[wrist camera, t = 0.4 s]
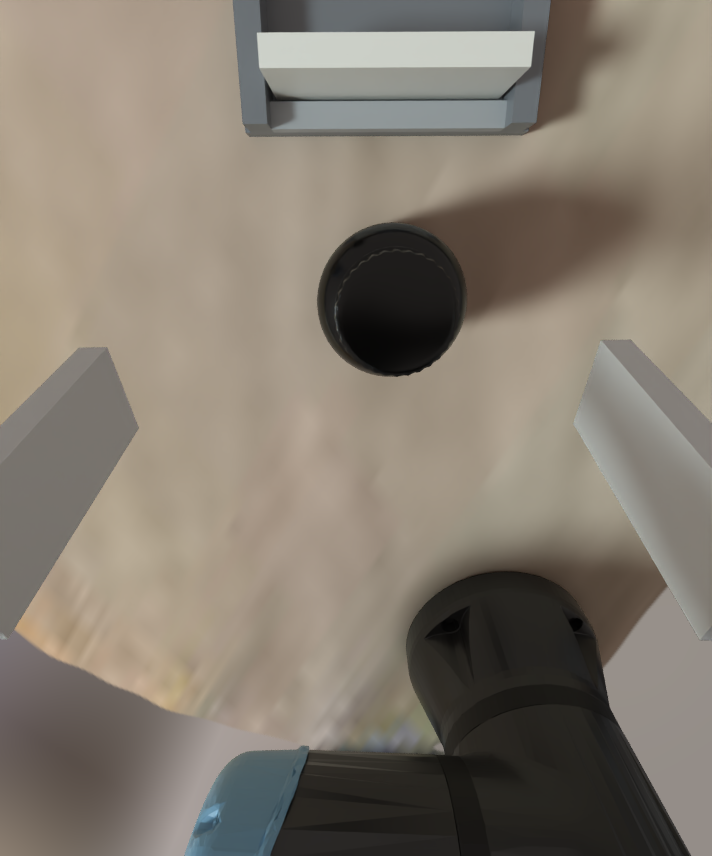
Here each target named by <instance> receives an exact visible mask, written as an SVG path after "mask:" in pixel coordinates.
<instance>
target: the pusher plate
mask: <svg viewBox="0 0 712 856" xmlns="http://www.w3.org/2000/svg"><path fill="white" fill-rule="evenodd" d="M534 34H535V31H467V32H268V33H257V42H258V57H259V69H260V70H261V72H262V74H263V76H264V78H265V79H266V81H267V83H268V85H269V86H270V88H271V90H272V92H273V94H274V95H275V97H276V99H277V100H397V99H499V98H500V97H501V96H502V95H503V94H504V93H505V92H506V91H507V90H508V89H509V88H510V87H511V86H512V85H513V84H514V83H515V82H516V81H517V80H518V79H519V78H520V77H521V76H522V75H523V74H524V73H525V72H526V71H527V70H528V69H529V68H530V67H531V61H532V52H533V43H534Z"/></svg>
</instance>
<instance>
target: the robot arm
mask: <svg viewBox="0 0 712 856" xmlns="http://www.w3.org/2000/svg"><path fill="white" fill-rule="evenodd" d="M573 424H574V426H575V427H576V429H577V431H578V433H579V434H580V436H581V438H582V439H583V441H584V443H585V445H586V446H587V448H588V450H589V451H590V453H591V455H592V457H593V458H594V460H595V462H596V463H597V465H598V467H599V469H600V470H601V472H602V474H603V475H604V477H605V479H606V481H607V482H608V484H609V486H610V487H611V489H612V491H613V493H614V494H615V496H616V498H617V499H618V501H619V503H620V505H621V506H622V508H623V510H624V511H625V513H626V515H627V517H628V518H629V520H630V522H631V523H632V525H633V527H634V529H635V530H636V532H637V534H638V535H639V537H640V539H641V541H642V542H643V544H644V546H645V547H646V549H647V551H648V553H649V554H650V556H651V558H652V559H653V561H654V563H655V565H656V566H657V568H658V570H659V571H660V573H661V575H662V577H663V578H664V580H665V582H666V583H667V585H668V587H669V589H670V590H671V592H672V594H673V595H674V597H675V599H676V601H677V602H678V604H679V606H680V607H681V609H682V611H683V612H684V614H685V616H686V618H687V619H688V621H689V623H690V625H691V626H692V628H693V629H694V631H695V633H696V635H697V637H698V638H699V640H712V423H711V422H710V421H709V420H708V419H707V418H706V417H705V416H704V415H703V414H702V413H701V412H700V411H699V410H698V408H697V407H696V406H695V405H694V404H693V403H692V402H691V401H690V400H689V399H688V398H687V397H686V396H685V395H684V394H683V393H682V392H681V391H680V390H679V389H678V388H677V387H676V386H675V385H674V384H673V383H672V382H671V381H670V380H669V379H668V378H667V377H666V376H665V374H664V373H663V372H662V371H661V370H660V369H659V368H658V367H657V366H656V365H655V364H654V363H653V362H652V361H651V360H650V359H649V358H648V357H647V356H646V355H645V354H644V353H643V352H642V351H641V350H640V349H639V348H638V347H637V346H636V345H635V344H634V343H633V342H632V340H601V342H600V345H599V348H598V351H597V354H596V357H595V360H594V363H593V366H592V369H591V372H590V375H589V378H588V381H587V384H586V387H585V390H584V393H583V396H582V399H581V402H580V405H579V408H578V411H577V414H576V417H575V420H574V423H573ZM138 429H139V427H138V425H137V422H136V420H135V417H134V414H133V412H132V409H131V407H130V404H129V402H128V399H127V397H126V394H125V392H124V389H123V386H122V384H121V381H120V379H119V376H118V374H117V371H116V369H115V366H114V364H113V361H112V358H111V356H110V353H109V351H108V348H107V347H91V348H78V349H77V350H76V351H75V352H74V353H73V354H72V355H71V356H70V357H69V358H68V359H67V360H66V361H65V362H64V363H63V364H62V365H61V366H60V367H59V368H58V369H57V370H56V371H55V372H54V373H53V374H52V375H51V376H50V377H49V378H48V379H47V380H46V381H45V382H44V383H43V384H42V385H41V386H40V387H39V388H38V389H37V390H36V391H35V392H34V393H33V394H32V395H31V396H30V397H29V398H28V399H27V400H26V401H25V402H24V403H23V404H22V405H21V406H20V407H19V408H18V409H17V410H16V411H15V412H14V413H13V414H12V415H11V416H10V417H9V418H8V419H7V420H6V421H5V422H4V423H3V424H2V425H1V426H0V639H8V638H9V636H10V635H11V633H12V632H13V630H14V628H15V627H16V625H17V624H18V622H19V620H20V619H21V617H22V616H23V614H24V612H25V611H26V609H27V608H28V606H29V604H30V603H31V601H32V599H33V598H34V596H35V595H36V593H37V591H38V590H39V588H40V587H41V585H42V583H43V582H44V580H45V579H46V577H47V575H48V574H49V572H50V570H51V569H52V567H53V566H54V564H55V562H56V561H57V559H58V558H59V556H60V554H61V553H62V551H63V549H64V548H65V546H66V545H67V543H68V541H69V540H70V538H71V537H72V535H73V533H74V532H75V530H76V529H77V527H78V525H79V524H80V522H81V520H82V519H83V517H84V516H85V514H86V512H87V511H88V509H89V508H90V506H91V504H92V503H93V501H94V500H95V498H96V496H97V495H98V493H99V491H100V490H101V488H102V487H103V485H104V483H105V482H106V480H107V479H108V477H109V475H110V474H111V472H112V471H113V469H114V467H115V466H116V464H117V462H118V461H119V459H120V458H121V456H122V454H123V453H124V451H125V450H126V448H127V446H128V445H129V443H130V442H131V440H132V438H133V437H134V435H135V433H136V432H137V430H138ZM406 652H407V660H408V668H409V675H410V679H411V682H412V686H413V688H414V691H415V693H416V695H417V697H418V699H419V701H420V703H421V705H422V706H423V708H424V710H425V712H426V714H427V716H428V718H429V720H430V722H431V724H432V726H433V728H434V730H435V732H436V734H437V736H438V738H439V740H440V742H441V743H442V745H443V747H444V752H445V755H434V754H407V753H379V752H351V751H323V750H309V746H301V747H300V748H299V749H297V750H265V751H249V752H245V753H242V754H240V755H238V756H237V757H235V758H234V759H232V760H231V761H230V762H229V763H228V764H227V765H226V766H225V767H224V769H223V770H222V771H221V772H220V774H219V775H218V777H217V778H216V780H215V782H214V784H213V786H212V788H211V790H210V792H209V794H208V796H207V798H206V800H205V802H204V804H203V807H202V809H201V812H200V814H199V817H198V819H197V822H196V824H195V827H194V830H193V832H192V835H191V838H190V841H189V843H188V846H187V849H186V852H185V855H184V856H691V855H690V853H689V851H688V849H687V847H686V846H685V844H684V842H683V840H682V838H681V837H680V835H679V833H678V831H677V829H676V827H675V826H674V824H673V822H672V820H671V818H670V817H669V815H668V813H667V811H666V809H665V807H664V806H663V804H662V802H661V800H660V798H659V797H658V795H657V793H656V791H655V789H654V787H653V786H652V784H651V782H650V780H649V778H648V777H647V775H646V773H645V771H644V769H643V768H642V766H641V764H640V762H639V760H638V759H637V757H636V755H635V753H634V751H633V749H632V748H631V746H630V744H629V742H628V740H627V739H626V737H625V735H624V734H623V732H622V730H621V728H620V726H619V724H618V722H617V721H616V719H615V717H614V715H613V713H612V711H611V709H610V707H609V701H608V696H607V690H606V685H605V679H604V674H603V669H602V663H601V658H600V652H599V647H598V642H597V639H596V636H595V633H594V631H593V628H592V626H591V624H590V623H589V621H588V619H587V618H586V616H585V614H584V613H583V611H582V609H581V608H580V606H579V605H578V603H577V602H576V600H575V599H574V598H573V597H572V596H571V595H570V594H569V593H568V592H567V591H565V590H564V589H563V588H561V587H560V586H558V585H557V584H555V583H553V582H551V581H549V580H546V579H544V578H541V577H538V576H534V575H530V574H525V573H516V572H497V573H488V574H483V575H478V576H474V577H471V578H468V579H465V580H462V581H460V582H457V583H455V584H453V585H451V586H449V587H448V588H446V589H444V590H443V591H441V592H439V593H438V594H437V595H435V596H434V597H433V598H432V599H431V600H429V601H428V602H427V603H426V604H425V605H424V607H423V608H422V609H421V610H420V611H419V613H418V614H417V616H416V617H415V619H414V621H413V622H412V624H411V627H410V629H409V633H408V637H407V643H406Z"/></svg>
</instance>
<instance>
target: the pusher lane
mask: <svg viewBox="0 0 712 856" xmlns="http://www.w3.org/2000/svg"><path fill="white" fill-rule="evenodd" d="M550 4H551V0H233V10H234V22H235V34H236V47H237V59H238V71H239V84H240V96H241V108H242V120H243V125H244V126H245V131H246V134H247V135H248V136H249V137H271V136H482V135H523V134H525V133H527V132H528V130H529V127H530V126H532V125H533V124H535V123H536V121H537V112H538V104H539V96H540V87H541V79H542V70H543V62H544V54H545V45H546V37H547V29H548V20H549V12H550ZM467 31H535V34H534V43H533V52H532V61H531V67H530V68H529V69H528V70H527V71H526V72H525V73H524V74H523V75H522V76H521V77H520V78H519V79H518V80H517V81H516V82H515V83H514V84H513V85H512V86H511V87H510V88H509V89H508V90H507V91H506V92H505V93H504V94H503V95H502V96H501V97H500V98H499V99H397V100H277V99H276V97H275V95H274V94H273V92H272V90H271V88H270V86H269V85H268V83H267V81H266V79H265V78H264V76H263V74H262V72H261V70H260V69H259V57H258V42H257V33H268V32H467Z"/></svg>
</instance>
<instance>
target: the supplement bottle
mask: <svg viewBox="0 0 712 856" xmlns="http://www.w3.org/2000/svg"><path fill="white" fill-rule="evenodd" d="M466 306H467V289H466V282H465V278H464V275H463V271H462V269H461V266H460V264H459V262H458V260H457V259H456V257H455V255H454V254H453V252H452V251H451V250H450V249H449V248H448V246H447V245H446V244H445V243H444V242H443V241H442V240H440V239H439V238H438V237H436V236H435V235H434V234H432V233H430V232H429V231H427V230H425V229H423V228H420V227H417V226H414V225H410V224H406V223H396V222H390V223H381V224H376V225H373V226H370V227H367V228H365V229H362V230H360V231H358V232H357V233H355V234H353V235H352V236H350V237H349V238H348V239H346V240H345V241H344V242H343V243H342V244H341V245H340V246H339V247H338V248H337V249H336V250H335V252H334V253H333V254H332V256H331V257H330V259H329V260H328V262H327V264H326V266H325V268H324V271H323V273H322V276H321V279H320V283H319V288H318V296H317V308H318V316H319V320H320V324H321V327H322V330H323V332H324V335H325V337H326V338H327V340H328V342H329V343H330V345H331V346H332V348H333V349H334V350H335V352H336V353H337V354H338V355H339V356H340V357H341V358H342V359H344V360H345V361H346V362H347V363H349V364H350V365H352V366H353V367H355V368H357V369H359V370H361V371H364V372H366V373H369V374H373V375H377V376H385V377H395V376H396V377H398V376H403V375H407V376H409V375H410V374H412V373H415V372H420V371H422V370H423V369H424V368H426V367H429V366H431V365H432V363H434V362H435V361H437V360H438V359H440V357H441V356H442V355H443V354H444V353H445V352H446V351H447V350H448V349H449V348H450V346H451V345H452V344H453V342H454V341H455V339H456V337H457V335H458V333H459V332H460V329H461V327H462V324H463V321H464V318H465V313H466Z"/></svg>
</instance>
